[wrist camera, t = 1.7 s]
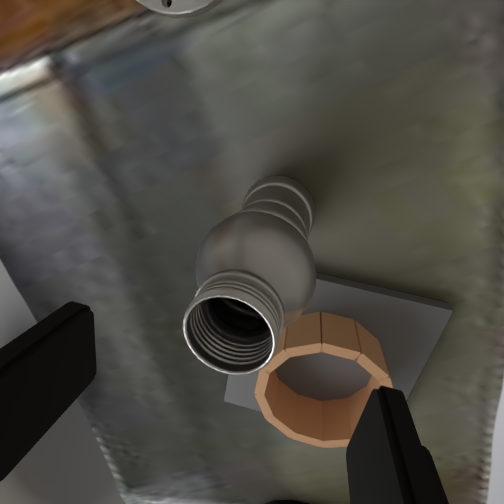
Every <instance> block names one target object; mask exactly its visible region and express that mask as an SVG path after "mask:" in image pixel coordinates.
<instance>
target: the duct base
mask: <svg viewBox="0 0 504 504" xmlns="http://www.w3.org/2000/svg"><path fill="white" fill-rule="evenodd" d="M452 313H453V310H452V308H451V307H450V306H449V304H448V303H447V302H442V301H438V300H434V299H429V298H425V297H421V296H416V295H412V294H408V293H403V292H399V291H395V290H391V289H386V288H382V287H378V286H373V285H369V284H365V283H360V282H356V281H352V280H347V279H343V278H339V277H334V276H330V275H326V274H321V273H317V272H316V286H315V290H314V294H313V296H312V298H311V300H310V302H309V304H308V306H307V307H306V309H305V310H304V312H303V313H302V314H301V315H300V317H299V318H298V319H296V320H295V321H294V322H293V323H292V324H290V325H288V326H286V327H284V328H283V331H282V333H281V335H280V338H279V339H278V345H277V350H276V352H275V354H274V356H273V358H272V360H271V361H270V362H269V364H268V365H267V366H265V367H264V368H263V369H261V370H259V371H257V372H255V373H252V374H248V375H230V374H229V376H228V381H227V387H226V393H225V398H224V401H226V402H229V403H233V404H236V405H240V406H243V407H247V408H250V409H254V410H257V411H261V412H262V413H263V415H264V417H265V419H266V420H267V421H268V422H270V423H271V424H272V425H274V426H275V427H276V428H278V429H279V430H280V431H281V432H283V433H284V434H285V435H287V436H288V437H289V438H290V437H291V439H294V440H298V441H301V442H305V443H308V444H311V445H315V446H318V447H324V448H330V447H345V446H348V444H349V441H350V439H351V437H352V435H353V432H354V430H355V428H356V426H357V423H358V421H359V419H360V417H361V414H362V412H363V410H364V408H365V405H366V403H367V401H368V399H369V396H370V394H371V392H372V390H373V389H379V387H380V386H381V385H382V386H386V387H390V388H394V389H397V390H401V391H402V392H403V394H404V396H405V399H406V400H407V398H408V396H409V394H410V393H411V391H412V389H413V387H414V385H415V383H416V381H417V379H418V377H419V375H420V374H421V372H422V370H423V368H424V366H425V364H426V362H427V360H428V358H429V357H430V355H431V353H432V351H433V349H434V347H435V345H436V343H437V341H438V339H439V338H440V336H441V334H442V332H443V330H444V328H445V326H446V324H447V322H448V321H449V319H450V317H451V315H452Z"/></svg>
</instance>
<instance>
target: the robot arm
mask: <svg viewBox="0 0 504 504" xmlns="http://www.w3.org/2000/svg"><path fill="white" fill-rule="evenodd" d="M136 1H137V2H139V3H140V4H142V5H143V6H145V7H146V8H147V9H149V10H152V11H154V12H156V13H158V14H160V15H164V16H169V17H174V18H180V17H191V16H194V15H198V14H201V13H203V12H205V11H207V10H209V9H210V8H212V7H214V6H216V5H217V4H218V3H219V2H220V1H221V0H136ZM170 2H172V4H171V6H170V7H169V3H170ZM95 375H96V351H95V332H94V314H93V312H92V311H91V310H90V307H89V306H87V305H84V304H80V303H76V302H73V301H72V302H68V303H66V304H65V305H64V306H62V307H61V308H59V309H58V310H56V311H55V312H53V313H52V314H50V315H49V316H47V317H46V318H45V319H43V320H42V321H40V322H39V323H37V324H36V325H34V326H33V327H31V328H30V329H28V330H27V331H26V332H24V333H23V334H21V335H20V336H18V337H17V338H16V339H14V340H12V341H11V342H9V343H8V344H7V345H5V346H4V347H2V348H1V349H0V481H1V480H3V479H4V478H5V477H6V476H7V475H8V474H9V473H10V472H11V471H12V469H13V468H14V467H15V466H16V465H17V464H18V463H19V462H20V460H22V458H23V457H24V456H25V455H26V454H27V453H28V452H29V451H30V450H31V448H32V447H33V446H34V445H35V444H36V443H37V442H38V441H39V439H40V438H41V437H42V436H43V435H44V434H45V433H46V432H47V431H48V429H49V428H50V427H51V426H52V425H53V424H54V423H55V422H56V420H58V418H59V417H60V416H61V415H62V414H63V413H64V412H65V411H66V409H67V408H68V407H69V406H70V405H71V404H72V403H73V402H74V401H75V400H76V398H77V397H78V396H79V395H80V394H81V393H82V392H83V391H84V390H85V388H86V387H87V386H88V385H89V384H90V383H91V382H92V380H93V379H94V377H95ZM346 461H347V471H348V481H349V492H350V502H351V504H449V503H448V500H447V497H446V495H445V492H444V489H443V486H442V484H441V481H440V478H439V475H438V472H437V470H436V467H435V464H434V461H433V459H432V456H431V454H430V452H429V450H428V449H427V448H426V447H424V446H422V445H421V443H420V440H419V437H418V434H417V431H416V428H415V425H414V422H413V419H412V416H411V413H410V411H409V408H408V405H407V402H406V399H405V396H404V394H403V392H402V391H401V390H397V389H394V388H390V387H386V386H382V385H381V386H380V387H379V389H373V390H372V392H371V394H370V396H369V399H368V401H367V403H366V405H365V408H364V410H363V412H362V414H361V417H360V419H359V421H358V423H357V426H356V428H355V430H354V432H353V435H352V437H351V439H350V441H349V444H348V446H347V452H346Z"/></svg>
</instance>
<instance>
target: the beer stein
mask: <svg viewBox="0 0 504 504" xmlns="http://www.w3.org/2000/svg"><path fill="white" fill-rule="evenodd" d="M266 504H308V503H304V502H299V501H294V500H274V501H271V502H269V503H266Z"/></svg>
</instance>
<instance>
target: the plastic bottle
mask: <svg viewBox="0 0 504 504" xmlns="http://www.w3.org/2000/svg"><path fill="white" fill-rule="evenodd" d="M314 220H315V207H314V202H313V200H312V198H311V195H310V194H309V193H308V191H307V190H306V189H305V188H304V187H303V186H302V185H301V184H300V183H299V182H297V181H296V180H294V179H292V178H289V177H285V176H269V177H265V178H263V179H261V180H259V181H257V182H256V183H255V184H254V185H253V186H252V187H251V188H250V189H249V190H248V192H247V194H246V196H245V198H244V201H243V205H242V210H241V211H240V212H238V213H236V214H234V215H232V216H230V217H228V218H226V219H224V220H223V221H222V222H220V223H219V224H217V225H216V226H215V227H214V228H212V229H211V230H210V232H209V233H208V234H207V235H206V236H205V238H204V240H203V242H202V244H201V246H200V249H199V253H198V257H197V263H196V279H197V285H198V288H199V289H198V290H197V292H196V294H195V297H194V299H193V301H192V302H191V303H190V305H189V307H188V309H187V310H186V313H185V316H184V320H183V332H184V337H185V340H186V342H187V344H188V346H189V348H190V349H191V351H192V352H193V353H194V354H195V356H196V357H197V358H198V359H199V360H201V361H202V362H203V363H204V364H206V365H207V366H209V367H211V368H212V369H215V370H217V371H219V372H222V373H226V374H230V375H248V374H252V373H255V372H257V371H259V370H261V369H263V368H264V367H265V366H267V365H268V364H269V362H270V361H271V360H272V358H273V356H274V354H275V352H276V350H277V345H278V339H279V338H280V335H281V333H282V331H283V328H284V327H286V326H288V325H290V324H292V323H293V322H294V321H295V320H296V319H298V318H299V317H300V315H301V314H302V313H303V312H304V310H305V309H306V307H307V306H308V304H309V302H310V300H311V298H312V296H313V294H314V290H315V286H316V268H315V263H314V258H313V254H312V251H311V249H310V246H309V243H308V240H307V237H308V236H309V234H310V232H311V230H312V227H313V225H314Z"/></svg>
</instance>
